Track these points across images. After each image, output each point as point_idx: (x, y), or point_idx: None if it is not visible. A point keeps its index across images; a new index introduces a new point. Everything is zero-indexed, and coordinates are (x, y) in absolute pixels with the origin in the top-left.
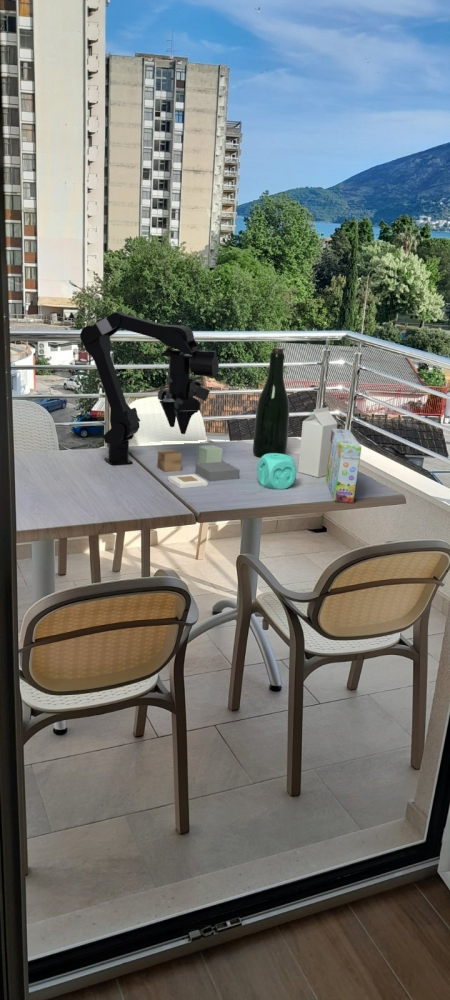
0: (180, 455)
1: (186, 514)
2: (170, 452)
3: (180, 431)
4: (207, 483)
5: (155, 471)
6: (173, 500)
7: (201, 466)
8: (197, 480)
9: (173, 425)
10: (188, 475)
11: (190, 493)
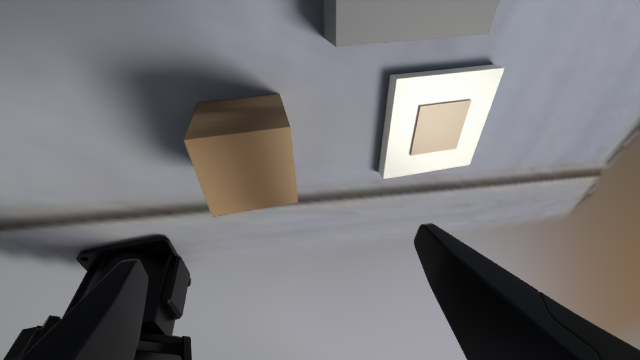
0: (289, 129)
1: (590, 188)
2: (252, 173)
3: (425, 261)
4: (499, 67)
5: None
6: (518, 193)
7: (391, 35)
8: (469, 100)
9: (135, 274)
10: (403, 110)
11: (510, 145)
